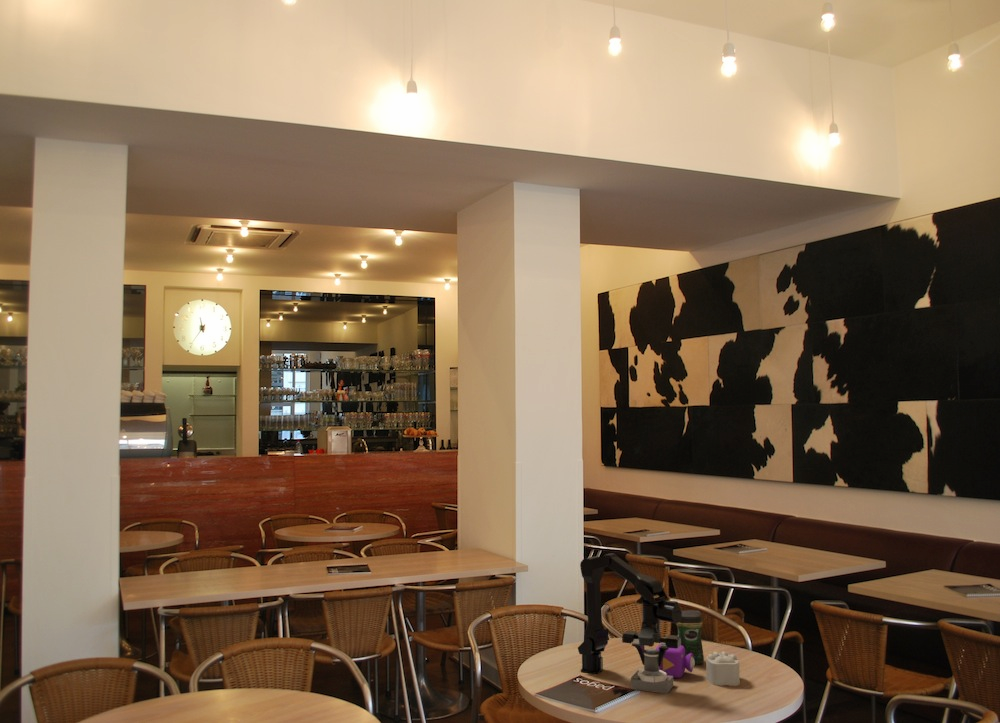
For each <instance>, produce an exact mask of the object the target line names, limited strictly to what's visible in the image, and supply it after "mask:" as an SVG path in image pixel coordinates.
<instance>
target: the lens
mask: <svg viewBox="0 0 1000 723" xmlns="http://www.w3.org/2000/svg"><path fill="white" fill-rule="evenodd" d="M655 649H656V648H647V649H645V650H644V665H643V670H645V671H649V672H657V671H659V669H660V667H659V651H658V650H655Z"/></svg>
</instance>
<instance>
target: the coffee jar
mask: <svg viewBox="0 0 1000 723" xmlns="http://www.w3.org/2000/svg"><path fill="white" fill-rule="evenodd" d="M681 611H682V616H681V619H680V621H679V622H678V623H675V625H676V627H677V636H679V637H680V638H681V645H682V646H684V648H685V656H687V655H688V654H690V653H692V654H693V658H694V661H695V664H697V665H702V664H703V663H704V662H705V657H704V650H703V649H704V648H703V642H702V627H703V624H704V623H703V616H702V613H701V612H700V611H699V610H692V609H691V610H690V609H689V610H681Z"/></svg>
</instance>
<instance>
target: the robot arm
mask: <svg viewBox="0 0 1000 723" xmlns="http://www.w3.org/2000/svg"><path fill="white" fill-rule="evenodd" d="M579 567H580V573H581V577H582V578H583V580H584V582H585V586H586V609H587V625H586V628H585V631H584V634H583V641H582V643H581V644H580V645H578V647H577V651H578V654H579V655H581V669H580V672H583V673H590V674H600V672H601V671H603V669H604V663H603V662H604V657H603V656H602V652H605V649H606V647H607V645H608V643H609V641H610V638H609V629H608V628H606V627H605V626H604V624H603V617H602V616H603V615H602V597H601V596H602V594H601V581H602V579H603V576H604V573H605V571H604V570H605V568H607V567H608V568H609V569H611V570H613V572H615V573H616V574H617V575H619V576H620V577H622V578H623V579H624V580H626V581H627V582H628V583H630V584H631V585H632V586H633V588H634V590H635V591H636V592H637V593H638V594H639V595H640V597H639V598H638V599H637V600H636V603H637V604H641V607H642V609H641V610H642V612H641V613H642V614H641V615H642V618H641V619H642V622H641V627H640V630H639V632H638V631H637V630H636V631H635V630H634V631H633V630H626V631H625V632H624V633H623V634H622V638H621V639H622V640H621V643H625V644H631V646H632V647H634V648H636V650H637V653H638V655H639V658H640V660H641V664H642V665H643V666H644V650H646V649H645V648H646V647H654V646H655V643H657V644H661V646H660V647H659V667H660V666H661V664H662V661H663V658H664V655H665V652H666V650H668V649H669V648H675V649H676V648H678V647H679V646H680V645H681V638H680V637H679V636H678V635H675V634H674V635H672V634H669V635H667V637H662V636H661V621H662V622H667V623H671V624H676V623H678V622H679V621H680V619H681V616H682V611H683V610H682V608H681V606H680V605H679V603H678V601H675V600H670V599H669V597H668V595H667V593H666V591H665V590H664V588H663V586H662V582H661V581H660V580H659V579H657V578H655V577H653V576H650V575H649V574H648V575H647V574H644V573H641V572H640V571H639V570H638V569H636V568H634V567H633V566H632V565H630V564H629V563H627V562H625V561H624V560H623V559H621V558H620V557H619V556H618V555H617V554H616V553H613V552H612V553H607V554H604V555H602V556H598V555H596V556H590V557H587V558H585V557H584V558H583V559H582V560H581V561H580V565H579ZM645 646H646V647H645Z"/></svg>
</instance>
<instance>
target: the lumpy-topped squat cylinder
mask: <svg viewBox="0 0 1000 723" xmlns="http://www.w3.org/2000/svg"><path fill="white" fill-rule="evenodd" d="M705 664H706V665H705V668H706V672H705V673H706V677H705V678H706V681H709V682H710V683H709V682H708V683H709V684H710V685H713V686H717V685H719V686H718V687H721V686H722V687H723V685H729V687H731V686H733V687H735V686H739V685H740V684H741V683H740V682H741V681H740V680H741V679H740V661H739V659H738V658H737V655H736V654H735V653H731V654H729V653H728V652H726V651H724V650H722V651H721V652H719V651H716V650H715V651H714V652H713V653H709V654H708V655H706V657H705Z"/></svg>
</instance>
